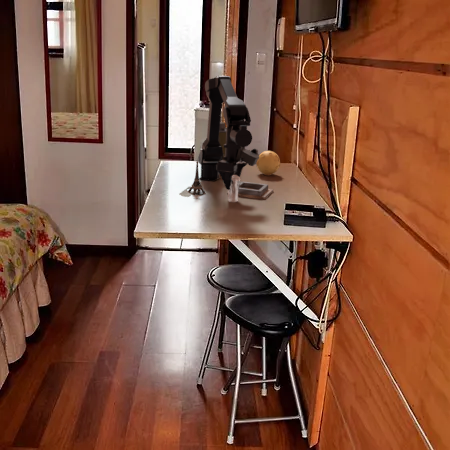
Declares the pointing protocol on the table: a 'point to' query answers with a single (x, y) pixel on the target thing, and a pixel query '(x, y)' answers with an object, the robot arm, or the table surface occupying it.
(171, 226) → the table surface
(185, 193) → the eiffel tower figurine
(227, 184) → the robot arm
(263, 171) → the stress ball
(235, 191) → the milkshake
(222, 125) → the canister
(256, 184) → the frame
